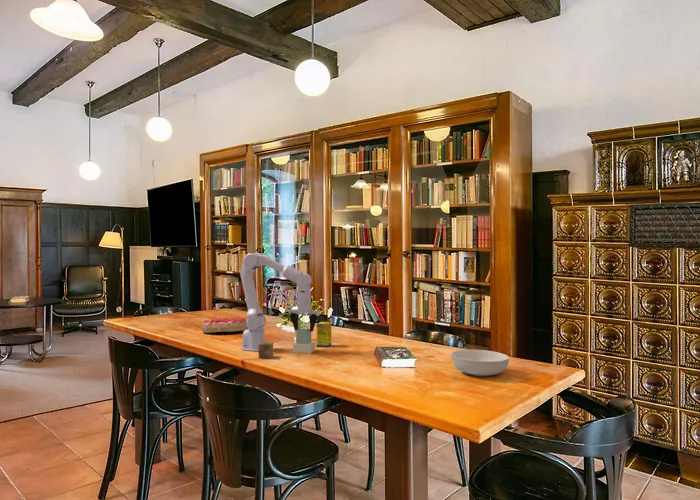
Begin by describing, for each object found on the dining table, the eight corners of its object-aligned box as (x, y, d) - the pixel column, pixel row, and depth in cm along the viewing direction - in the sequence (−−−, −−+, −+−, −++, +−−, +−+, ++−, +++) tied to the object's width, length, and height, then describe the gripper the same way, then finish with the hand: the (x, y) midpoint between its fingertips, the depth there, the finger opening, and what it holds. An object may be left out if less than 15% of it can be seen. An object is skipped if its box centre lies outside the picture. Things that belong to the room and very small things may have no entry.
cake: (234, 334, 263) (234, 319, 263) (192, 334, 269) (192, 319, 270) (255, 330, 287) (255, 315, 287) (216, 330, 293) (216, 316, 294)
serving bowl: (500, 383, 171) (500, 363, 171) (442, 375, 182) (442, 356, 182) (515, 371, 189) (515, 352, 189) (461, 364, 200) (461, 347, 200)
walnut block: (258, 358, 210) (258, 344, 210) (261, 356, 215) (261, 342, 215) (270, 358, 210) (270, 344, 210) (273, 356, 215) (273, 342, 215)
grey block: (292, 353, 222) (292, 344, 222) (298, 349, 230) (298, 341, 230) (310, 354, 221) (310, 344, 221) (315, 350, 229) (315, 341, 229)
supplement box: (328, 347, 234) (328, 323, 234) (316, 346, 235) (316, 323, 235) (331, 344, 240) (331, 322, 240) (319, 344, 241) (319, 321, 241)
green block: (296, 343, 224) (296, 330, 224) (301, 341, 228) (301, 328, 228) (306, 344, 222) (306, 330, 222) (311, 342, 227) (311, 329, 227)
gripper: (285, 300, 224) (285, 331, 224) (315, 302, 219) (315, 333, 219) (292, 299, 231) (292, 328, 231) (321, 300, 226) (321, 330, 226)
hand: (303, 330), depth 225 cm, fingers open, 7 cm apart
